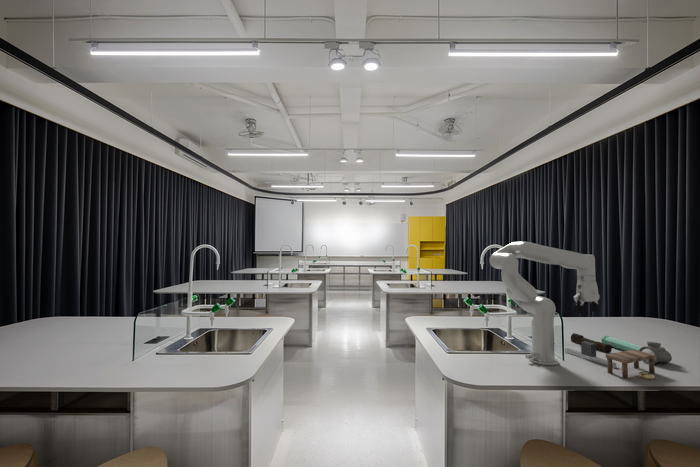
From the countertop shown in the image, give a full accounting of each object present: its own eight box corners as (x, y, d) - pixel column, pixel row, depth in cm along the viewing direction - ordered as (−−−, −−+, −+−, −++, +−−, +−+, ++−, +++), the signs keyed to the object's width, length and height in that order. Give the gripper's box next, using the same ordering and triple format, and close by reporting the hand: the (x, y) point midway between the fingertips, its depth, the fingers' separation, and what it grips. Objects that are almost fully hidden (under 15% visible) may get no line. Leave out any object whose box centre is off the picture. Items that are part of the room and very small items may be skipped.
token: (643, 380, 138) (642, 375, 138) (636, 375, 143) (636, 371, 143) (657, 381, 137) (657, 376, 137) (650, 376, 142) (650, 372, 142)
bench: (626, 379, 139) (625, 360, 139) (606, 372, 146) (605, 354, 147) (656, 373, 145) (655, 354, 145) (635, 366, 153) (634, 349, 153)
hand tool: (612, 353, 173) (612, 342, 173) (605, 353, 172) (605, 343, 172) (575, 341, 195) (575, 332, 195) (568, 341, 194) (568, 332, 194)
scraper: (612, 368, 151) (611, 350, 151) (563, 353, 174) (563, 337, 174) (617, 368, 152) (616, 349, 153) (568, 352, 175) (568, 336, 175)
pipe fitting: (655, 365, 153) (655, 343, 154) (638, 361, 160) (637, 340, 162) (676, 367, 154) (675, 345, 156) (658, 362, 162) (657, 341, 164)
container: (655, 347, 163) (607, 333, 188) (646, 352, 162) (599, 337, 187) (659, 358, 163) (611, 342, 188) (650, 363, 162) (603, 347, 187)
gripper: (581, 279, 158) (582, 315, 158) (605, 278, 164) (607, 312, 163) (566, 278, 166) (567, 312, 165) (590, 277, 171) (591, 310, 170)
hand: (587, 312), depth 164 cm, fingers open, 9 cm apart
